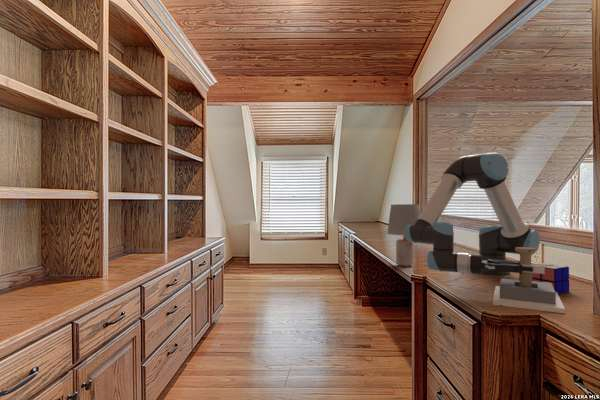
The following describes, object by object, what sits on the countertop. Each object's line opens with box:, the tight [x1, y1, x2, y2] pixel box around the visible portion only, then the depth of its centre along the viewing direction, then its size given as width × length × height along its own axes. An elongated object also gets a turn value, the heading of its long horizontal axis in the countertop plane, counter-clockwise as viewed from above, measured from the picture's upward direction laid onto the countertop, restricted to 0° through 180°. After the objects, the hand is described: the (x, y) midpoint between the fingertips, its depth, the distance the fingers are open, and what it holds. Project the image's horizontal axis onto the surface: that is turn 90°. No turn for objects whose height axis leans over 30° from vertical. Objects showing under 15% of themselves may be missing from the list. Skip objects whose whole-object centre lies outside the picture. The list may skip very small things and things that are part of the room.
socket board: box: [492, 278, 566, 314], centre depth 129 cm, size 24×20×6 cm
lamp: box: [387, 203, 421, 268], centre depth 199 cm, size 19×19×34 cm
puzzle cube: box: [532, 262, 570, 295], centre depth 142 cm, size 10×10×10 cm
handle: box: [515, 247, 537, 288], centre depth 129 cm, size 5×6×15 cm
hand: (543, 268), depth 126 cm, fingers closed on handle, 3 cm apart
